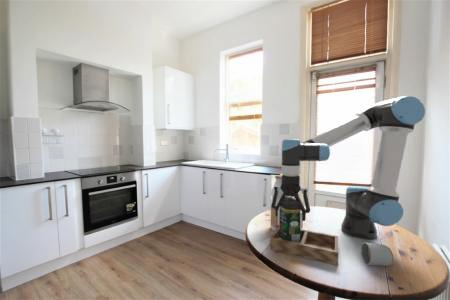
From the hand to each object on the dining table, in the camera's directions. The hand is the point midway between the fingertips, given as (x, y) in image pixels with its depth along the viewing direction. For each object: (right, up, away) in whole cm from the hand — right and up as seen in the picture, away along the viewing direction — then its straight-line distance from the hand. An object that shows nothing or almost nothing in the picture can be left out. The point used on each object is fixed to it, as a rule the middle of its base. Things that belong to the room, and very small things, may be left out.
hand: (290, 225), depth 95 cm
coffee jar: (0, -7, 0) cm, 7 cm away
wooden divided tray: (+5, -9, -2) cm, 11 cm away
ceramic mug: (+28, -10, -12) cm, 32 cm away
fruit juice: (0, -8, +17) cm, 19 cm away
